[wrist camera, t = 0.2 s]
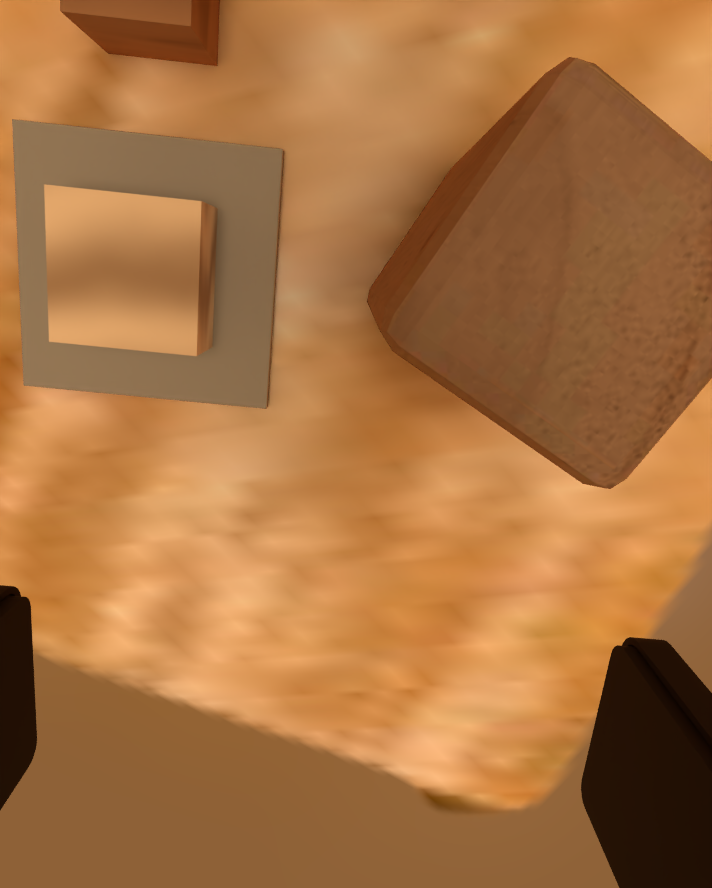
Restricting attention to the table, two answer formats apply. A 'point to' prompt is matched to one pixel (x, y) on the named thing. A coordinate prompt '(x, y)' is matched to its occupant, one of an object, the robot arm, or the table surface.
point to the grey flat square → (236, 269)
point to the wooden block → (564, 276)
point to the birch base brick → (130, 270)
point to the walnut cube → (150, 27)
